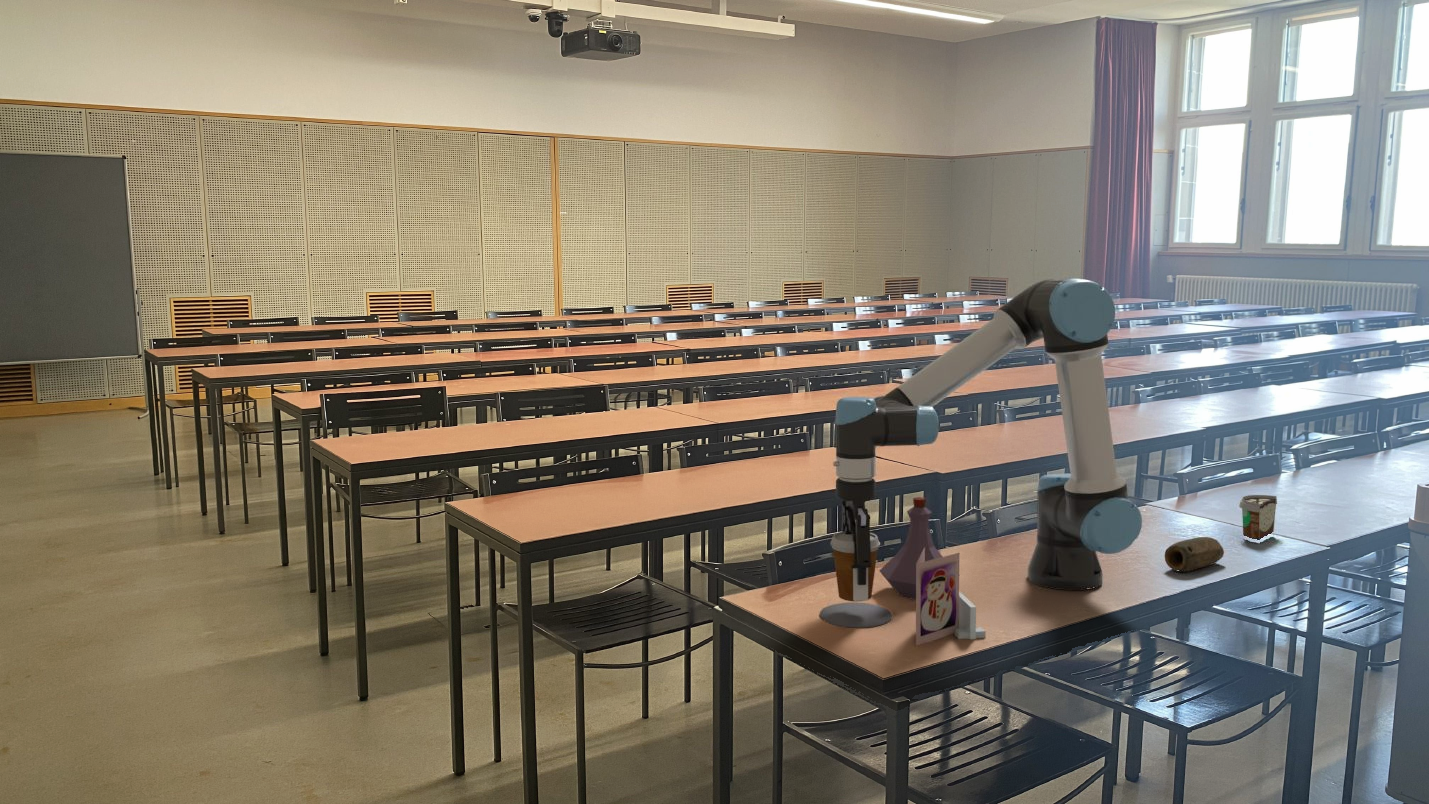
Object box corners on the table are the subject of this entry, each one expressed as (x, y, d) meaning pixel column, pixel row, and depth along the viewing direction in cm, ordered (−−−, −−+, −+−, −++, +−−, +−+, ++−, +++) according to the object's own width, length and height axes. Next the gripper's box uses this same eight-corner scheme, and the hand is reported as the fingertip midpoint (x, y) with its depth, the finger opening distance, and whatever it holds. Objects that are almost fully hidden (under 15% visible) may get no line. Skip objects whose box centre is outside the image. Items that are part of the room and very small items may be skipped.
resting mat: (882, 602, 201) (882, 600, 201) (900, 626, 188) (900, 624, 188) (813, 605, 200) (813, 604, 200) (827, 629, 187) (827, 628, 186)
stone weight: (1193, 578, 214) (1194, 547, 213) (1161, 571, 219) (1162, 541, 218) (1226, 564, 223) (1227, 535, 222) (1195, 558, 228) (1196, 529, 227)
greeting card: (919, 647, 177) (919, 565, 175) (889, 635, 183) (889, 556, 181) (962, 632, 183) (963, 553, 182) (931, 622, 189) (932, 545, 188)
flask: (862, 589, 210) (862, 496, 208) (921, 576, 218) (922, 487, 216) (915, 611, 196) (916, 511, 193) (976, 596, 204) (977, 500, 202)
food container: (1248, 531, 250) (1250, 492, 249) (1275, 535, 246) (1277, 495, 245) (1229, 540, 242) (1231, 500, 241) (1256, 545, 237) (1258, 504, 236)
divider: (956, 608, 197) (956, 578, 196) (986, 638, 180) (986, 606, 179) (931, 609, 197) (931, 579, 196) (959, 639, 180) (959, 607, 179)
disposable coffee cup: (820, 597, 194) (820, 536, 192) (850, 586, 200) (850, 527, 199) (859, 608, 187) (859, 545, 185) (889, 596, 193) (890, 535, 192)
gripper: (825, 468, 201) (826, 577, 203) (847, 489, 180) (847, 611, 183) (862, 467, 201) (862, 576, 204) (888, 488, 181) (888, 609, 183)
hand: (855, 592), depth 193 cm, fingers closed on disposable coffee cup, 8 cm apart
